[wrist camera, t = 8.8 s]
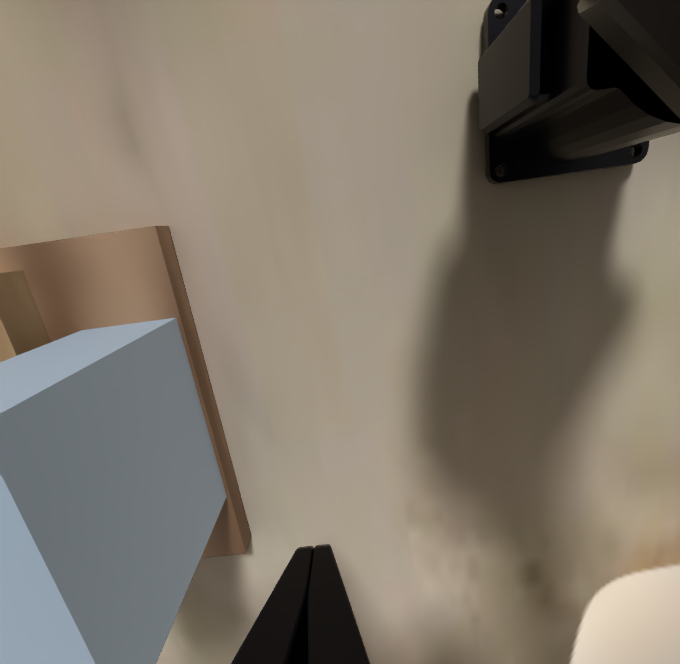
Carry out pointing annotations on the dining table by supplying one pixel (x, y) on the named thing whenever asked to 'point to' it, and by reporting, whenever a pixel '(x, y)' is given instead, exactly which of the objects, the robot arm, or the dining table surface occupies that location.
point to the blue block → (101, 495)
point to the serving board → (114, 321)
